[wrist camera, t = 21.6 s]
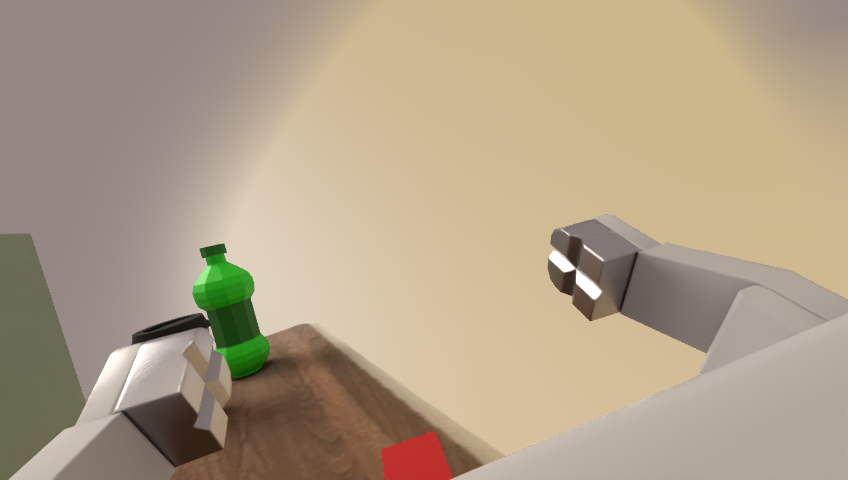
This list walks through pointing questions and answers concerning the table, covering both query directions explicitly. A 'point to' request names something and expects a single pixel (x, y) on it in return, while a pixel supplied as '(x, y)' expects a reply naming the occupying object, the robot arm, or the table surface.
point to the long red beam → (416, 460)
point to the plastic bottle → (231, 312)
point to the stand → (31, 360)
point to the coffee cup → (171, 328)
